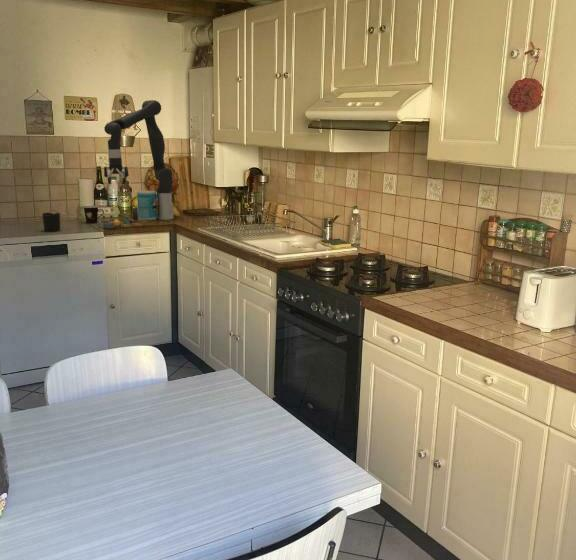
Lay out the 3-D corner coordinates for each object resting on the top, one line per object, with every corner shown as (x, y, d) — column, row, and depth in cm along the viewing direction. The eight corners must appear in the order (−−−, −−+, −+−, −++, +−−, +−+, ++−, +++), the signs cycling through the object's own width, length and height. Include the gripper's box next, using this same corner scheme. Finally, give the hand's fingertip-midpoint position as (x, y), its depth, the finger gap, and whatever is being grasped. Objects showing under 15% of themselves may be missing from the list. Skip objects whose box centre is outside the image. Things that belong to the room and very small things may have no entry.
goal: (108, 225, 380) (108, 220, 379) (114, 227, 372) (114, 222, 371) (97, 226, 376) (97, 221, 376) (103, 228, 368) (103, 223, 368)
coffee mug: (81, 223, 388) (80, 207, 385) (91, 221, 395) (90, 205, 392) (95, 224, 382) (94, 208, 380) (105, 222, 390) (104, 206, 387)
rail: (138, 223, 390) (138, 220, 389) (143, 225, 384) (143, 222, 383) (116, 225, 382) (116, 222, 382) (121, 226, 376) (121, 224, 375)
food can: (136, 218, 409) (135, 190, 405) (154, 217, 414) (153, 190, 410) (140, 221, 399) (139, 192, 394) (159, 219, 404) (158, 192, 400)
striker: (138, 223, 389) (137, 207, 386) (142, 224, 384) (141, 208, 381) (124, 224, 384) (123, 208, 381) (127, 225, 379) (127, 209, 376)
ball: (118, 225, 381) (118, 219, 380) (121, 226, 378) (120, 219, 377) (112, 226, 378) (112, 219, 378) (114, 227, 375) (114, 220, 374)
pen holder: (55, 228, 367) (54, 211, 364) (64, 230, 361) (62, 213, 359) (40, 230, 360) (39, 213, 357) (49, 232, 354) (47, 215, 352)
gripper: (128, 156, 377) (130, 183, 381) (105, 156, 377) (107, 183, 382) (124, 157, 370) (126, 184, 374) (101, 157, 370) (103, 184, 375)
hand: (117, 184), depth 378 cm, fingers open, 8 cm apart
